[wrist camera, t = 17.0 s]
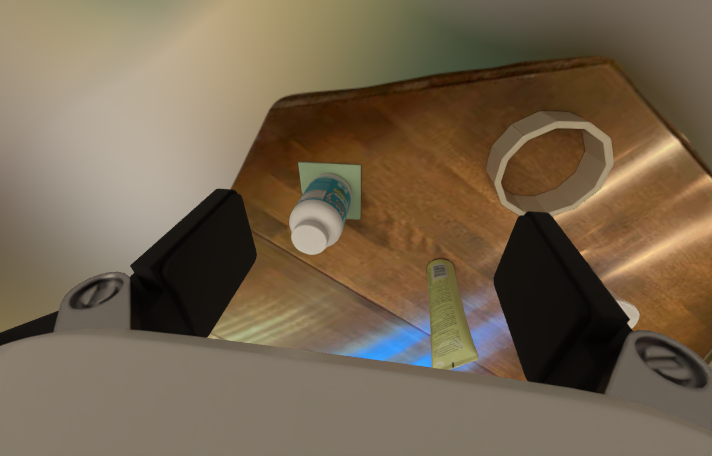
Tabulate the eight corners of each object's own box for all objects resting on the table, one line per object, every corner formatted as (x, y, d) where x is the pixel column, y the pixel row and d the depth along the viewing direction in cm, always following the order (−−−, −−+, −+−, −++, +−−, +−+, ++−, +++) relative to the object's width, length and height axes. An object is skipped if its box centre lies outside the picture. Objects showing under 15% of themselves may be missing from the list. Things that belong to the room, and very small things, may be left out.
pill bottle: (356, 209, 49) (342, 262, 38) (315, 213, 50) (291, 264, 39) (347, 168, 45) (329, 213, 34) (303, 174, 46) (272, 219, 35)
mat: (298, 161, 45) (298, 162, 45) (361, 164, 44) (360, 165, 44) (305, 214, 51) (304, 215, 51) (360, 218, 50) (360, 219, 50)
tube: (450, 280, 55) (469, 382, 40) (424, 278, 56) (432, 377, 40) (456, 258, 52) (479, 359, 36) (427, 256, 53) (438, 354, 37)
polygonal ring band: (501, 109, 37) (513, 119, 33) (609, 112, 36) (636, 123, 32) (477, 197, 45) (485, 214, 41) (566, 202, 43) (583, 220, 39)
